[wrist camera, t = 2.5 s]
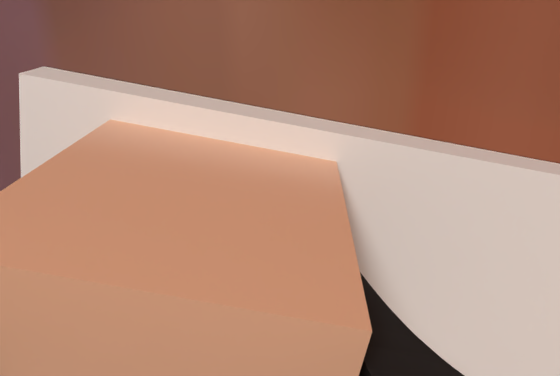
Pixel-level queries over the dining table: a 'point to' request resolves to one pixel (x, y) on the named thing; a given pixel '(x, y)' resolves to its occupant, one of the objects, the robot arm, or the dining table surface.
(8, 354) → the peach cube
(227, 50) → the dining table surface
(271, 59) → the dining table surface
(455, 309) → the base plate
